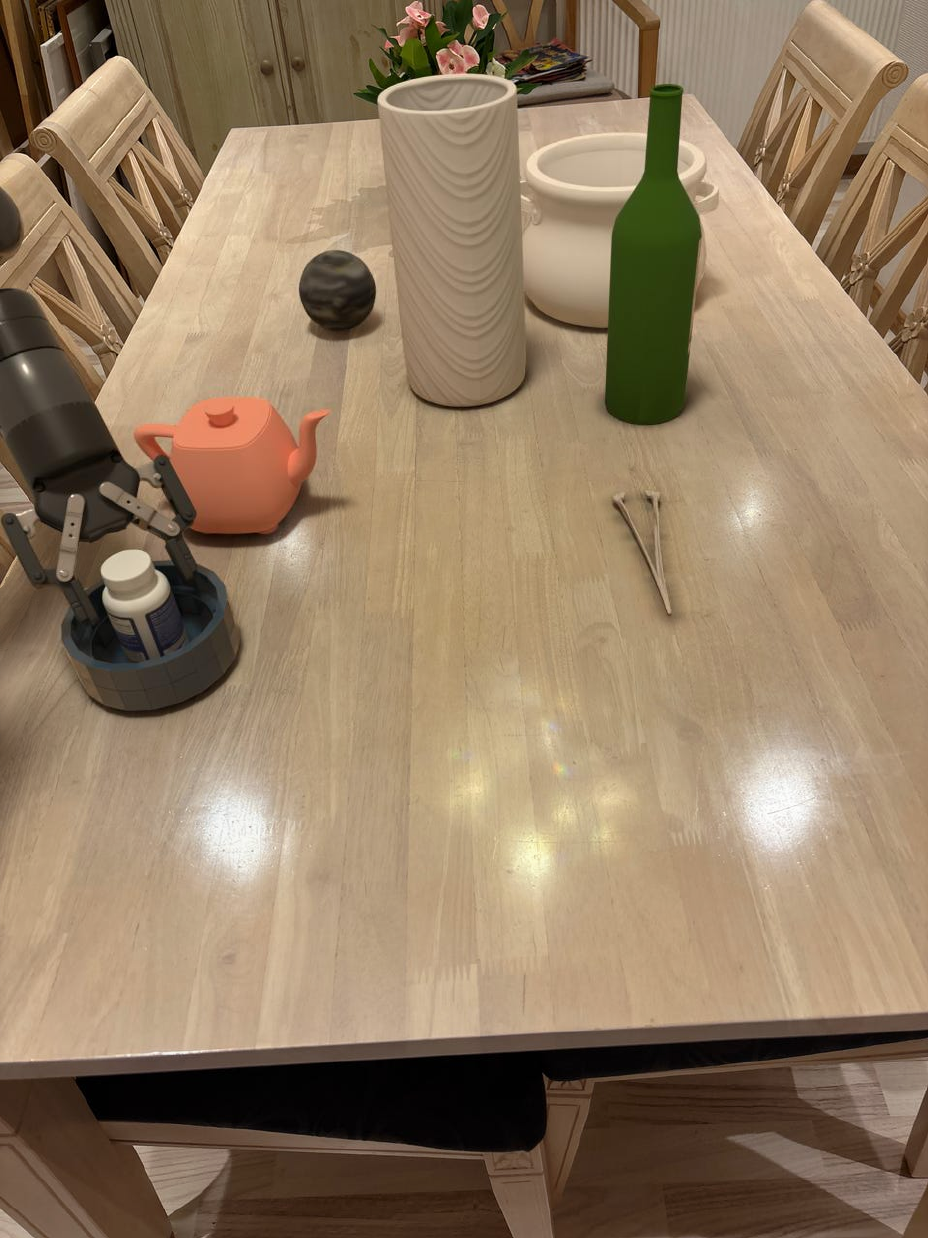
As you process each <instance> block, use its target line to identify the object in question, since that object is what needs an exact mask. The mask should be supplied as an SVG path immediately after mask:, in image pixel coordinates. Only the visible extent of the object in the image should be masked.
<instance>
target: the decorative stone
mask: <svg viewBox="0 0 928 1238" xmlns="http://www.w3.org/2000/svg"><path fill="white" fill-rule="evenodd" d="M298 296H299V300H300V302H301V303H300V304H301V305H302V308H303V310H304V311H305V313H306V315H307V316H308V317H309V318H310V320H311V321H313V322H314V323H316V324H317V325H318V326H320V328H323V329H326V330H329V331H333V332H343V331H350V330H352V329H355V328H356V327H359V326H360V325H362V324H363V323H364V322H365V321H366V320H367V318H368V317H369V316H370V315H371V313H372V311H373V309H374V306H375V303H376V299H377V298H376V297H377V286H376V280H375V278H374V275H373V273H372V272H371V270H370V268H369V266H368V265H367V263H365V262H364V261H363V260H362V258H360V257H358V256H357V255H355V254H354V253H352V252H349V251H346V250H343V249H342V250H340V249H330V250H326V251H323V252H321V253H319V254H317V255H315V256H314V257H313V258H311V259H310V260H309V261H308V263H307V264H306V265H305V266H304V268H303V270H302V273H301V275H300V280H299V283H298Z"/></svg>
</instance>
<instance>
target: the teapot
mask: <svg viewBox="0 0 928 1238" xmlns="http://www.w3.org/2000/svg"><path fill="white" fill-rule="evenodd" d="M330 413H331V410H330V409H326V408H325V409H318V410H314V411H312V412H309V413H307V414H306V415H304V416H303V418H302V419H301V421H300V423H299V429H298V443H297V441H296V439H295V437H294V435H293V433H292V431H291V430H290V428H289V426H288V424H287V423H286V422H285V420H284V418H283V417H282V416H281V414H280V413H279V412H278V411H277V409H276V408H275V406H274V405H272V404H271V402H270V401H268V400H267V399H265V398H262V397H251V396H250V397H249V396H229V397H228V396H227V397H226V396H225V397H211V398H205V399H202V400H200V401H198V402H197V403H195V404H194V405H192V406H191V407H190V408H189V409H188V410H187V411H186V412H185V413H184V415H183V416H182V417H181V419H180V420H179V422H178V424H177V425H175V424H169V423H168V424H167V423H143V424H141V425H139V426H137V427H136V428H135V429H134V432H133V438H134V439H133V440H134V441H135V443H136V444H137V446H138V447H139V448H140V451H141V452H143V453H144V454H145V456H147V458H149V459H150V460H151V462H153V461H154V459H155V457H156V456H158V455H165V456H167V457H168V459H169V460H170V462H171V464H172V466H173V468H174V470H175V472H176V474H177V476H178V478H179V479H180V481H181V483H182V485H183V487H184V489H185V491H186V493H187V495H188V497H189V499H190V500H191V502H192V504H193V506H194V508H195V510H196V512H197V516H196V518H195V520H194V523H193V525H192V526H191V527H189V528H190V529H192V530H193V531H196V532H200V533H202V534H224V535H225V534H227V535H229V534H231V535H232V534H252V533H253V534H254V533H258V534H260V535H268V534H271V533H274V532H275V531H276V530H277V529H278V528H279V523H281V521H282V520H284V518H285V517H286V516H287V514H288V513H289V512H290V510H291V509H292V507H293V505H294V504H295V502H296V500H297V497H298V496H299V493H300V490H301V487H302V484H303V481H305V480H307V478H308V477H310V475H311V473H312V472H313V470H314V468H315V466H316V462H317V456H318V455H317V454H318V451H317V450H318V449H317V438H316V432H317V431H316V429H317V426H318V425H319V423H320V421H321V420H323V419H324V418H325V417H327V416H328V415H329V414H330ZM155 438H169V439H172V441H171V448H170V453H169V454H170V455H168V454H167V453H166V452H165V451H164V450H163V449H162V446H161V445H160V444H159V443H158V442H157V440H156V439H155Z"/></svg>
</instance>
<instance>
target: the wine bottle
mask: <svg viewBox="0 0 928 1238" xmlns="http://www.w3.org/2000/svg"><path fill="white" fill-rule="evenodd" d="M683 93H684V88H683V86H681V85H679V84H675V83H663V84H657V85H653V86H652V87H651V88H650V89H649V106H648V118H647V131H646V134H647V143H646V156H645V169H644V173H643V176H642V178H641V180H640V182H639V183H638V185H637V186H636V188H635V189H634V191H633V192H632V194H631V195H630V197H629V199H628V200H627V202H626V203H625V205H624V206H623V208H622V209H621V211H620V212H619V214H618V215H617V217H616V219H615V223H614V227H613V230H612V237H611V263H610V288H609V313H608V328H607V340H606V341H607V342H606V346H607V347H606V363H605V364H606V365H605V366H606V368H605V392H604V403H605V407H606V409H607V412H608V413H609V414H610V415H611V416H613V417H614V418H616V419H617V420H619V421H622V422H624V423H625V422H626V423H628V424H635V425H647V426H648V425H658V424H662V423H665V422H669V421H671V420H673V419H675V418H676V417H678V415H679V414H681V412H682V410H683V408H684V406H685V403H686V402H685V401H686V395H687V394H686V393H687V386H688V385H687V383H688V375H689V366H690V365H689V363H690V355H691V347H692V336H693V328H694V317H695V309H696V308H695V307H696V298H697V290H698V288H697V279H698V270H699V260H700V250H701V241H702V232H701V226H700V220H701V217H700V215H698V213H697V211H696V210H695V208H694V206H693V204H692V202H691V200H690V198H689V196H688V194H687V192H686V190H685V189H684V187H683V185H682V183H681V181H680V179H679V176H678V172H677V169H678V154H679V139H680V138H681V123H682V122H681V121H682V106H683ZM680 140H681V139H680ZM699 217H700V218H699ZM696 289H697V290H696Z"/></svg>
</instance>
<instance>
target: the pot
mask: <svg viewBox="0 0 928 1238" xmlns="http://www.w3.org/2000/svg"><path fill="white" fill-rule="evenodd" d="M646 143H647V132H646V133H645V132H628V131H627V132H623V131H622V132H603V133H592V134H586V135H579V136H574V137H570V138H565V139H561V140H558V141H555V142H552V143H549V144H547V145H545V146H542V147H541V148H539V149H537V150H536V151H534V152H533V153H532V154H531V155H530V156H529V157H528V159H527V161H526V163H525V166H524V178H525V180H520V187H521V212H524V213H527V214H529V216H528V219H527V221H526V224H525V226H524V229H523V230H522V245H523V275H524V293H525V295H526V296H527V297H528V298H529V300H530V301H531V302H532V303H533V305H534V306H535V307H536V308H537V309H538V310H539V311H541V312H542V313H544V314H545V315H546V316H549V317H551V318H553V319H555V320H557V321H561V322H563V323H567V324H571V325H575V326H581V327H588V328H598V329H608V313H609V288H610V263H611V237H612V230H613V227H614V223H615V219H616V217H617V215H618V214H619V212H620V211H621V209H622V208H623V206H624V205H625V203H626V202H627V200H628V199H629V197H630V195H631V194H632V192H633V191H634V189H635V188H636V186H637V185H638V183H639V182H640V180H641V178H642V176H643V173H644V169H645V156H646ZM707 170H708V163H707V158H706V155H705V154H704V153H703V152H702V150H701V149H700V148H698V146H696V145H694V144H692V143H690V142H689V141H688V142H687V141H685V140H683V139H679V154H678V169H677V172H678V176H679V179H680V181H681V183H682V185H683V187H684V189H685V190H686V192H687V194H688V196H689V198H690V200H691V202H692V204H693V206H694V208H695V210H696V211H697V213H698V215H699V218H700V226H701V232H702V241H701V250H700V260H699V270H698V279H697V289H696V291H697V290H698V288H699V285H700V284H701V282H702V278H703V276H704V273H705V268H706V263H707V262H706V261H707V255H708V254H707V243H706V234H705V230H704V226H703V223H702V221H701V217H700V215H705V214H709V213H711V212H714V211H716V210H717V209H718V207H719V202H720V201H719V200H720V190H719V189H720V188H719V185H718V184H717V183H714V182H709V181H708V182H707V181H703V179H704V178H705V175H706V173H707ZM530 195H532V199H530V198H529V197H527V196H530ZM697 197H702V199H698V200H697Z"/></svg>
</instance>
